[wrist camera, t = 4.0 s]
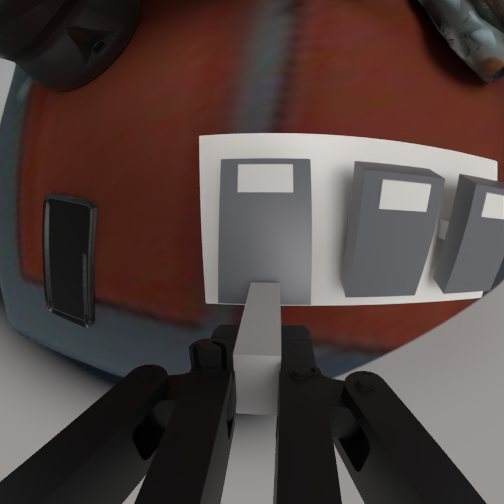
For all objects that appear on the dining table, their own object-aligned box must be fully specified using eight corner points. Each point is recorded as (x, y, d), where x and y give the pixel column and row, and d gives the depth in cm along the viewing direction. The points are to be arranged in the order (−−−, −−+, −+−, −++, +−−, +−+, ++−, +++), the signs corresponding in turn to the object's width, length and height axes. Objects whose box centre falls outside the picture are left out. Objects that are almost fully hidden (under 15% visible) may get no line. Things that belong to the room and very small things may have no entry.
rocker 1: (306, 299, 17) (311, 305, 15) (224, 298, 18) (217, 303, 15) (306, 169, 17) (310, 158, 15) (226, 169, 18) (220, 158, 16)
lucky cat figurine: (395, -28, 16) (468, -78, 3) (455, 21, 21) (522, -13, 8) (438, 57, 16) (554, 5, 3) (493, 108, 20) (582, 81, 7)
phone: (46, 310, 30) (44, 192, 26) (51, 306, 31) (50, 191, 27) (92, 330, 29) (94, 202, 25) (97, 326, 30) (100, 201, 26)
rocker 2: (405, 278, 19) (415, 296, 17) (340, 278, 19) (346, 299, 17) (429, 168, 15) (446, 179, 13) (354, 160, 15) (365, 171, 13)
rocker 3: (478, 275, 18) (490, 291, 16) (432, 277, 18) (444, 295, 17) (506, 183, 14) (523, 194, 12) (459, 173, 14) (477, 184, 12)
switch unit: (220, 280, 27) (201, 317, 20) (216, 144, 24) (193, 132, 17) (449, 279, 25) (489, 308, 18) (460, 161, 22) (507, 161, 15)
